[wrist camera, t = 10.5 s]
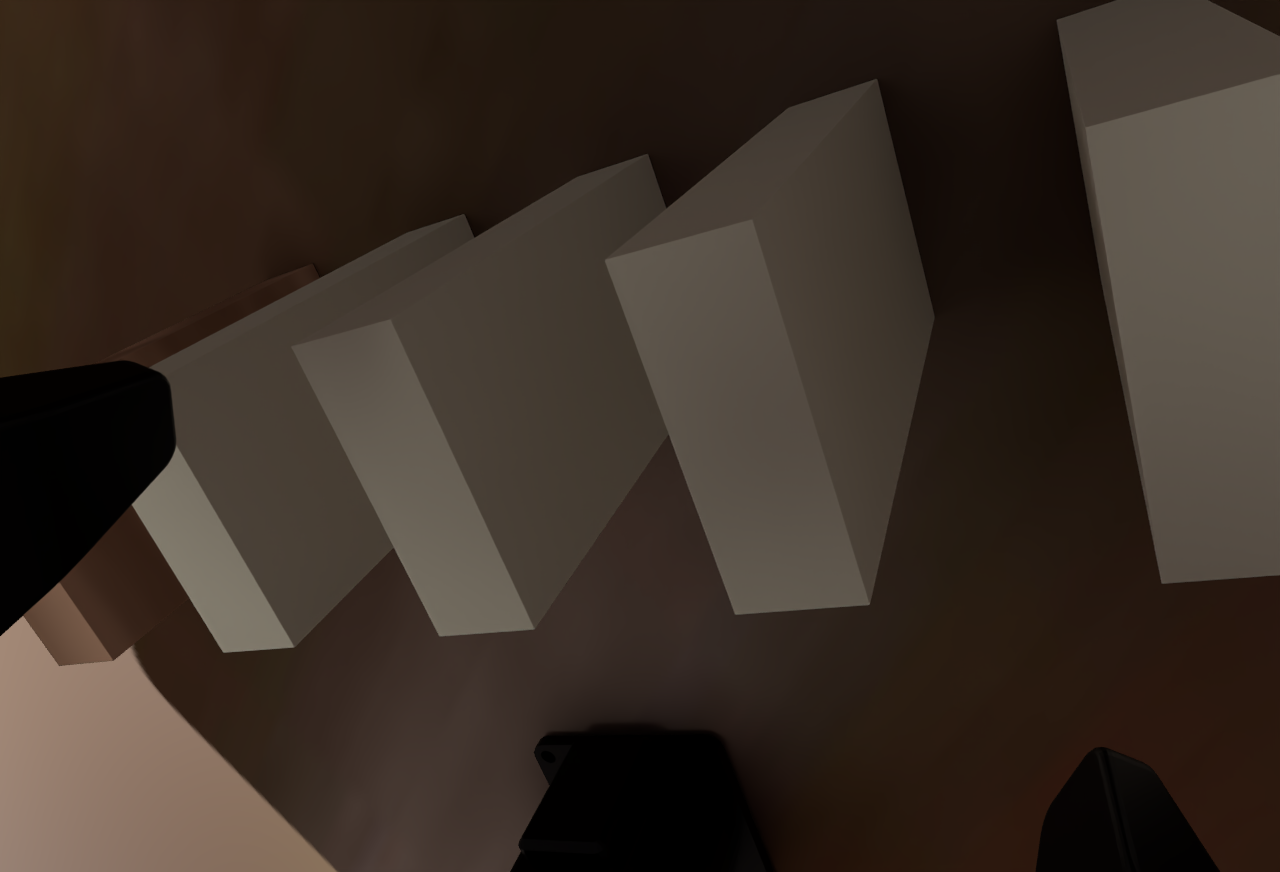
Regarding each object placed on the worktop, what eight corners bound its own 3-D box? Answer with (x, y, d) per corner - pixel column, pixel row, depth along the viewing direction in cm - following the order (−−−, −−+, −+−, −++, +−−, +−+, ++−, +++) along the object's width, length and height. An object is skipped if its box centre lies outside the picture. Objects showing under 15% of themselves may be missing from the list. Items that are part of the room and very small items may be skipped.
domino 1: (464, 214, 23) (143, 387, 14) (541, 398, 24) (294, 647, 16) (406, 232, 23) (72, 407, 15) (485, 409, 25) (223, 652, 17)
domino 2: (647, 153, 20) (389, 319, 12) (718, 362, 22) (534, 629, 14) (577, 176, 21) (290, 346, 13) (650, 375, 23) (439, 636, 15)
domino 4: (1171, -18, 16) (1327, 61, 8) (1206, 261, 18) (1364, 568, 9) (1056, 19, 17) (1086, 127, 8) (1101, 282, 18) (1162, 583, 10)
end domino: (312, 263, 25) (-40, 438, 17) (395, 428, 27) (113, 661, 18) (265, 279, 26) (-93, 454, 17) (349, 439, 27) (59, 666, 19)
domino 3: (877, 78, 18) (752, 219, 10) (934, 317, 20) (869, 604, 12) (788, 107, 19) (604, 260, 11) (851, 334, 21) (735, 614, 12)
